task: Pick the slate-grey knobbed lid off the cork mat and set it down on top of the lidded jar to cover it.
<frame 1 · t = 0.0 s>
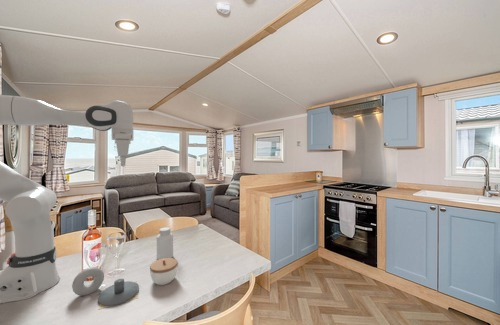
hand: (123, 165, 101), 48 cm above the table, fingers open, 8 cm apart
pill bottle: (165, 257, 112), on the table
lid: (119, 294, 81), point 1 cm above the table, touching mat
mat: (119, 295, 81), on the table
donut: (89, 294, 82), on the table
lidded jar: (164, 282, 90), on the table
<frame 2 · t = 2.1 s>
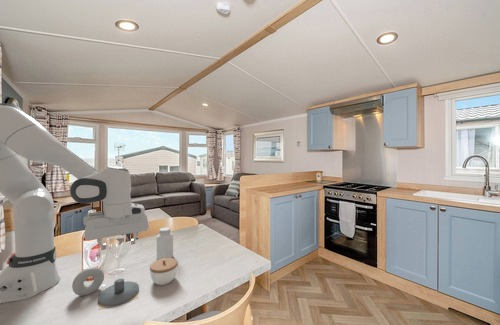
hand: (118, 246, 80), 19 cm above the table, fingers open, 8 cm apart
nothing on the table moved.
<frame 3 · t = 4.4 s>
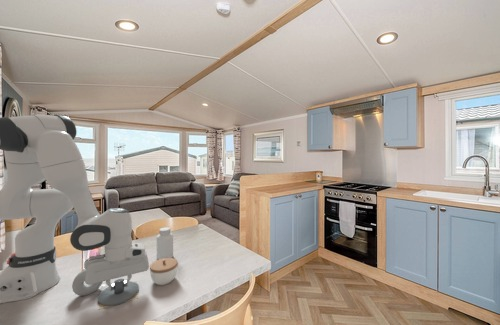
hand: (119, 287, 81), 3 cm above the table, fingers closed on lid, 3 cm apart
lid: (119, 294, 81), point 1 cm above the table, touching gripper, mat
everything else where it was.
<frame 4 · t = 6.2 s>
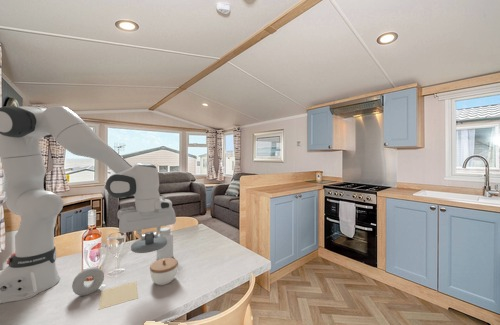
hand: (149, 238, 85), 20 cm above the table, fingers closed on lid, 3 cm apart
lid: (149, 245, 85), point 17 cm above the table, touching gripper
everything else where it was.
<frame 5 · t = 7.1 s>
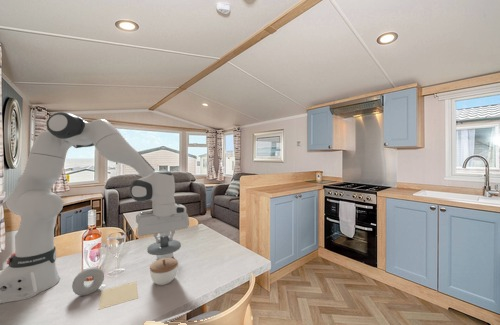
hand: (164, 241, 90), 17 cm above the table, fingers closed on lid, 3 cm apart
lid: (164, 248, 90), point 14 cm above the table, touching gripper
everything else where it was.
when the fingers open (13 cm above the table, at t = 8.0 s): lid stays where it is, resting on lidded jar.
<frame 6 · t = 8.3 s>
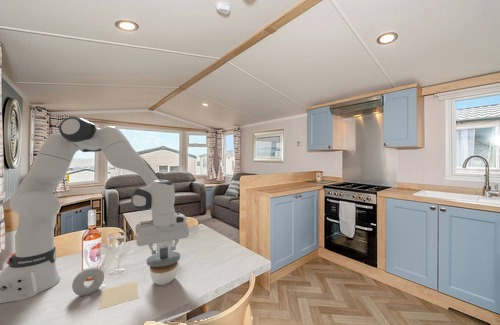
hand: (163, 251, 90), 13 cm above the table, fingers open, 6 cm apart
lid: (163, 259, 90), point 9 cm above the table, touching lidded jar
lidded jar: (164, 282, 90), on the table, touching lid
everything else where it was.
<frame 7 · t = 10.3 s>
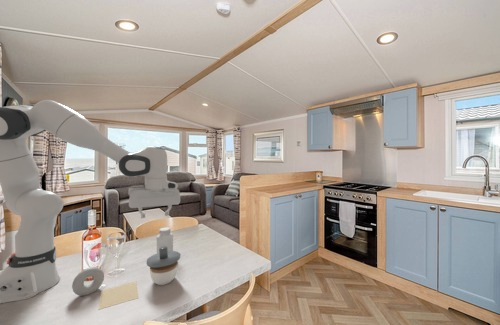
hand: (155, 216, 92), 27 cm above the table, fingers open, 8 cm apart
nothing on the table moved.
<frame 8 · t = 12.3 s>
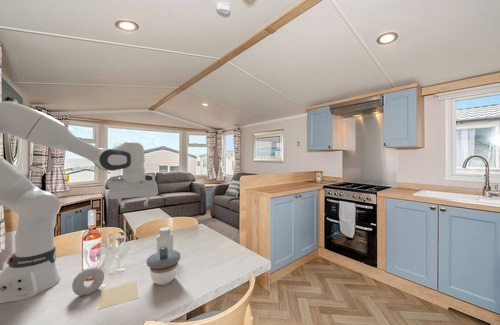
hand: (134, 206, 99), 29 cm above the table, fingers open, 8 cm apart
nothing on the table moved.
at the end: lid inside the target area on the lidded jar (0.1 cm from its centre), point 9.6 cm above the lidded jar's base; lid tilted 1°; the gripper is holding nothing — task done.
